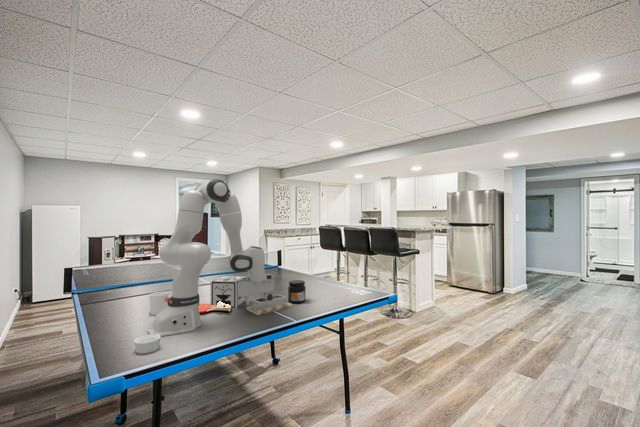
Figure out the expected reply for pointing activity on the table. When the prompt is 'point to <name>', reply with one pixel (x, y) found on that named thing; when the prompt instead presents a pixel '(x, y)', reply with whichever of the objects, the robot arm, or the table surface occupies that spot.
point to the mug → (157, 302)
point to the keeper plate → (269, 308)
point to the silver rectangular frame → (268, 302)
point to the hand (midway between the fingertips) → (256, 302)
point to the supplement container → (296, 292)
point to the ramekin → (147, 343)
